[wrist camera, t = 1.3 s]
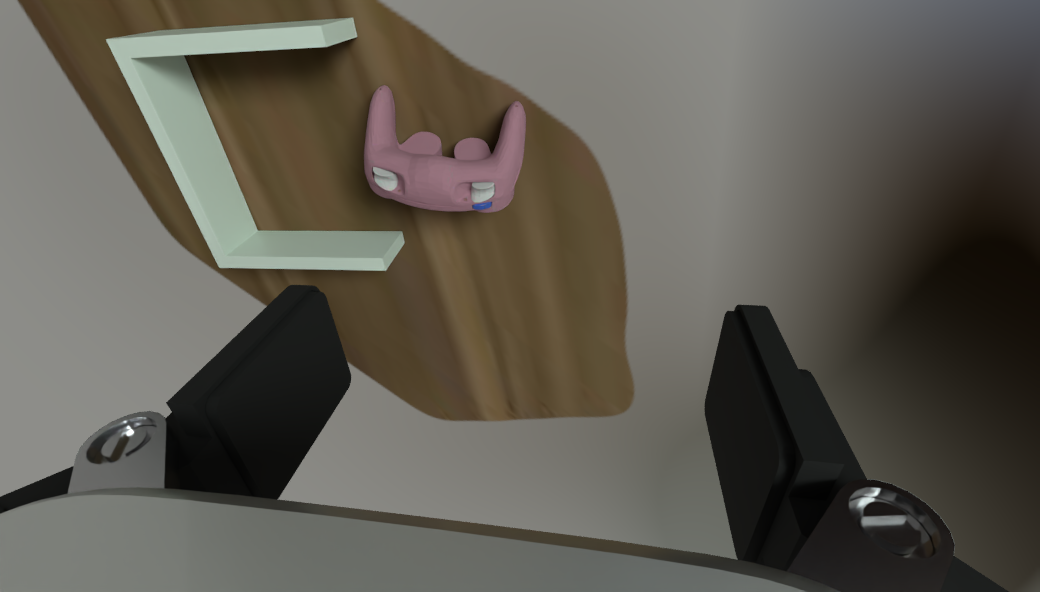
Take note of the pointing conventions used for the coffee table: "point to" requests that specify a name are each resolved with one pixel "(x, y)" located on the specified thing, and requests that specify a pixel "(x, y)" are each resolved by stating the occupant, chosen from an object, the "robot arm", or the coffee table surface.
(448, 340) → the coffee table surface
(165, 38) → the box
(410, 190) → the video game controller
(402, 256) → the coffee table surface
